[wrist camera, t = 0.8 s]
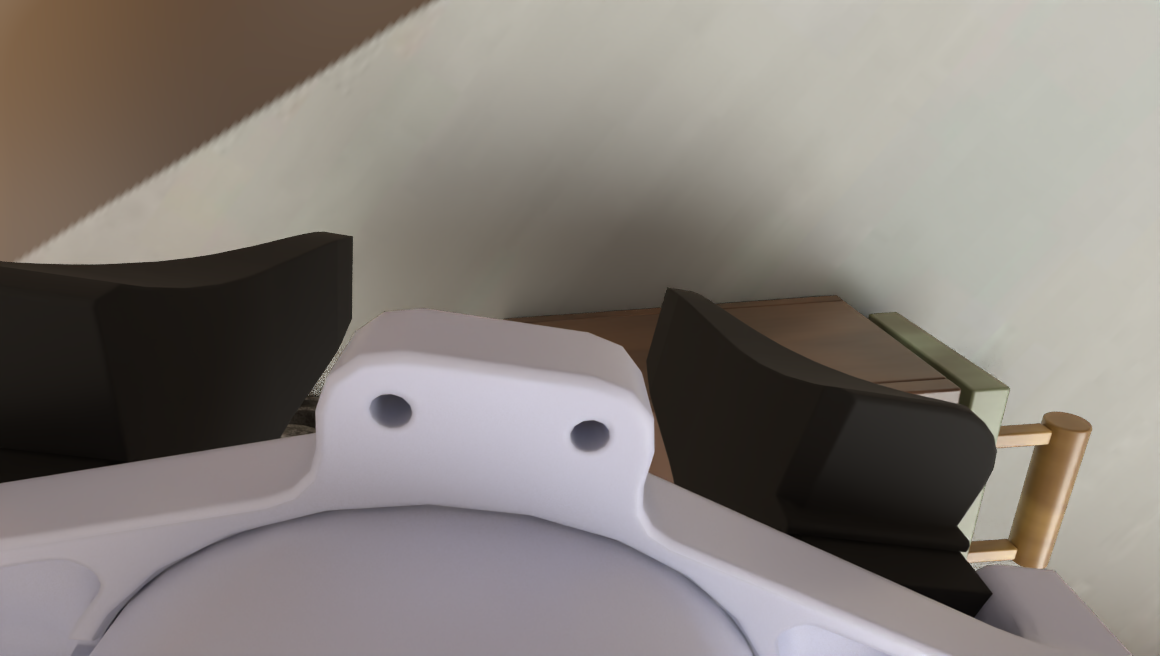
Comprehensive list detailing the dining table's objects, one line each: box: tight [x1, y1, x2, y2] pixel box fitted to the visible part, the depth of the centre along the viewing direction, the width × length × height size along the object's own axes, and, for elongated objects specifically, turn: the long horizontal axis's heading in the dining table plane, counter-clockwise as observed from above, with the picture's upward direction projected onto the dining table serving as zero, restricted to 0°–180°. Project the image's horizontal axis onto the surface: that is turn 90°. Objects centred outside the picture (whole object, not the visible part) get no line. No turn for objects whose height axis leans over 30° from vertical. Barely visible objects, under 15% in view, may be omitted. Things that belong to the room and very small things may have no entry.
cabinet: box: [503, 295, 961, 484], centre depth 23 cm, size 14×13×8 cm
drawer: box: [868, 312, 1092, 569], centre depth 23 cm, size 18×12×7 cm, turn 94°
